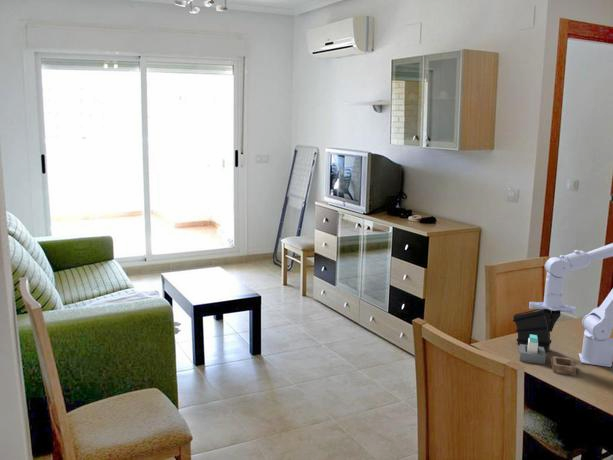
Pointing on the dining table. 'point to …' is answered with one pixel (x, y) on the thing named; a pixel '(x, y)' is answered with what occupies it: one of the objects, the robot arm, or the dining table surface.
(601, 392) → the dining table surface
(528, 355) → the port panel
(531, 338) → the plug
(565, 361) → the brown wooden frame
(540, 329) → the black piece
